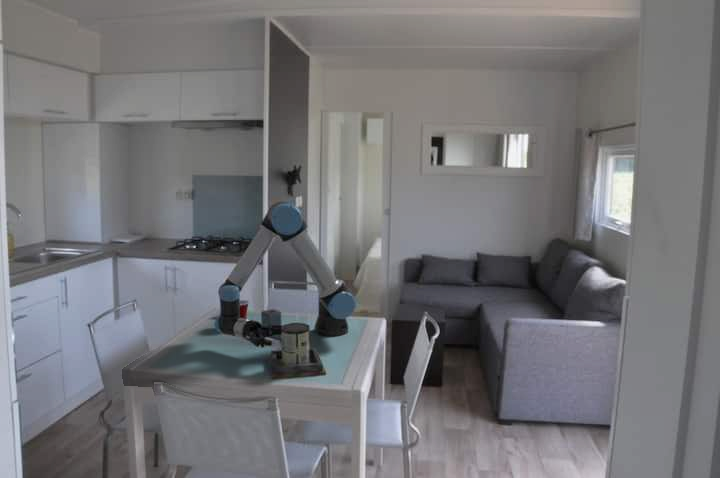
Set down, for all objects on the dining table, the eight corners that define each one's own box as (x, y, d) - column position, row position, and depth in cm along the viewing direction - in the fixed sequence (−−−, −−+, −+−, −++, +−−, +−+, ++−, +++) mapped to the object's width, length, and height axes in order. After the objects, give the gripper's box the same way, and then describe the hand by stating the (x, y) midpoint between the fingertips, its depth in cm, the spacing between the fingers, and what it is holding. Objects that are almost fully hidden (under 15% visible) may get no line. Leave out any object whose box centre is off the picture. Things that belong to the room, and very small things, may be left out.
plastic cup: (238, 322, 246) (238, 297, 244) (254, 327, 240) (254, 301, 238) (220, 328, 237) (219, 302, 235) (236, 333, 231) (235, 306, 229)
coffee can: (289, 357, 199) (289, 321, 197) (314, 360, 196) (314, 324, 194) (276, 367, 190) (276, 329, 188) (302, 370, 186) (302, 332, 184)
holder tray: (317, 355, 204) (317, 347, 204) (325, 374, 186) (325, 364, 185) (268, 359, 200) (268, 350, 199) (271, 378, 182) (271, 369, 181)
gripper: (270, 330, 214) (312, 340, 203) (224, 348, 193) (268, 359, 182) (270, 312, 213) (312, 321, 202) (224, 328, 192) (268, 338, 181)
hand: (291, 339), depth 192 cm, fingers open, 13 cm apart
